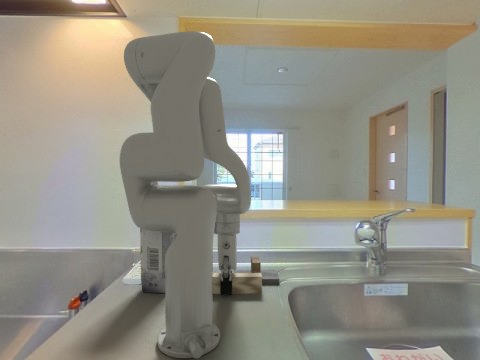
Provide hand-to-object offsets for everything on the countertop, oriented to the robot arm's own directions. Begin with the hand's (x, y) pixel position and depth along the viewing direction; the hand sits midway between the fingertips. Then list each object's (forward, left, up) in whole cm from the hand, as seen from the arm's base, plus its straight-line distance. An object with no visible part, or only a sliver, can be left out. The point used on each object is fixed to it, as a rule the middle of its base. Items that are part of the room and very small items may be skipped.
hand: (226, 288), depth 85 cm
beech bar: (0, 0, -1) cm, 1 cm away
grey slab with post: (+4, -12, -1) cm, 13 cm away
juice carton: (+11, +17, -1) cm, 20 cm away
